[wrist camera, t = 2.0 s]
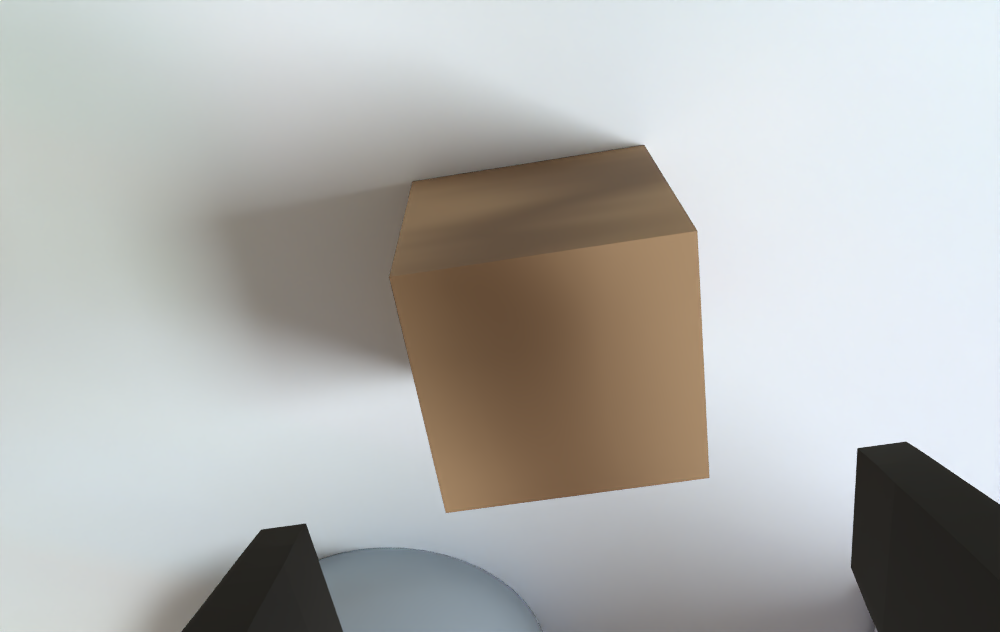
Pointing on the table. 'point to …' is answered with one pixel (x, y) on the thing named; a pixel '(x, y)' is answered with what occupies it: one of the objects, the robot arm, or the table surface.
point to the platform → (420, 594)
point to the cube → (554, 329)
